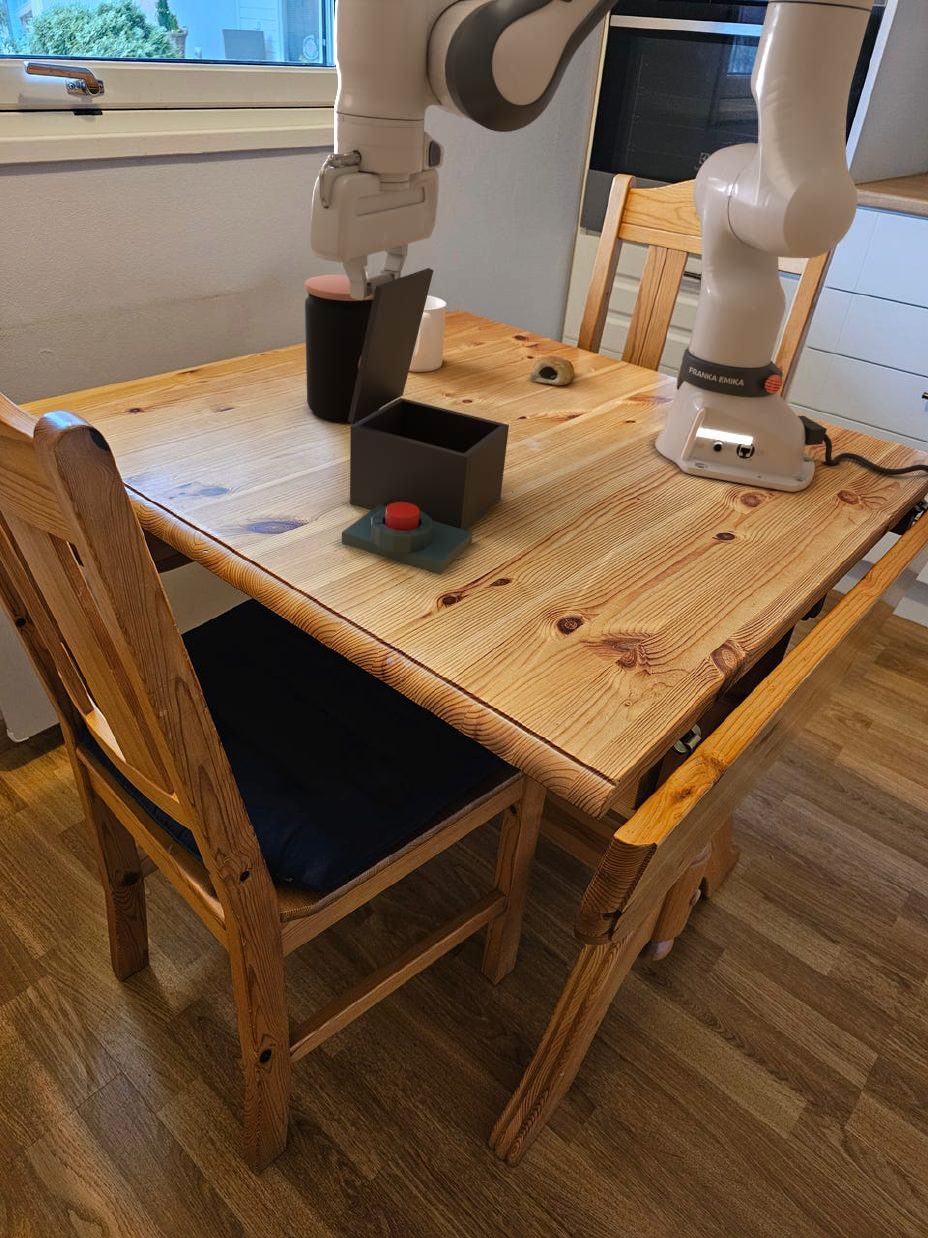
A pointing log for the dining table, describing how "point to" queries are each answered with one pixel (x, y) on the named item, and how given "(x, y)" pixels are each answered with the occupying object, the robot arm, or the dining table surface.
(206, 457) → the dining table surface
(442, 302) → the mug
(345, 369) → the coffee jar
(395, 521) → the button
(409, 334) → the lid
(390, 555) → the control block
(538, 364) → the pastry
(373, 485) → the dark grey box
